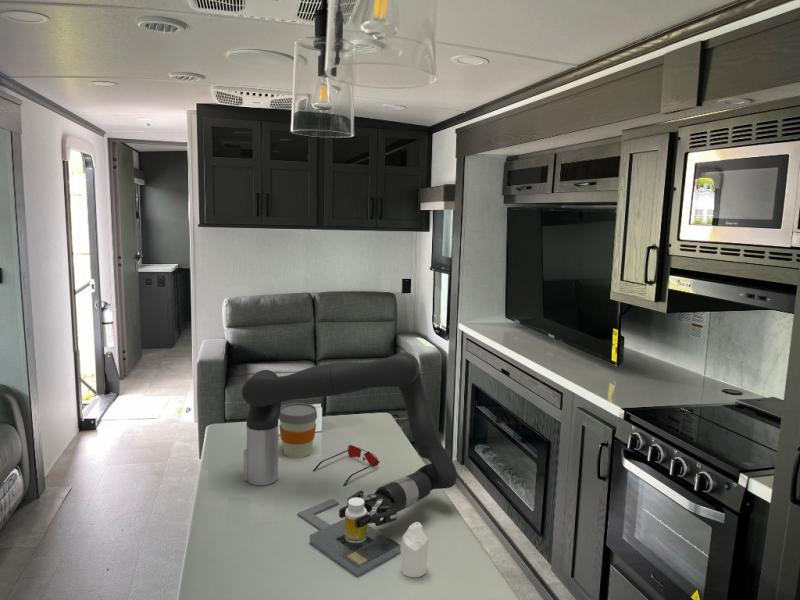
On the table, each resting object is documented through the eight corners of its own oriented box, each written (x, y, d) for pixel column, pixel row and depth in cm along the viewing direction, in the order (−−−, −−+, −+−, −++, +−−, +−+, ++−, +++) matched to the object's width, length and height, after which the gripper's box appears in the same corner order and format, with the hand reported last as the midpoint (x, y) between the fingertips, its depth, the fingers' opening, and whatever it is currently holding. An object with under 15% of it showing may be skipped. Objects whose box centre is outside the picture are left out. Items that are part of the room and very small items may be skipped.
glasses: (380, 469, 193) (381, 454, 192) (343, 487, 180) (344, 472, 179) (349, 456, 201) (349, 441, 200) (312, 472, 189) (312, 457, 188)
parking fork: (330, 537, 153) (330, 535, 153) (297, 515, 163) (297, 513, 163) (365, 520, 162) (365, 518, 162) (332, 500, 171) (332, 498, 171)
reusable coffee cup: (297, 441, 210) (298, 400, 208) (324, 451, 203) (325, 408, 201) (270, 452, 200) (270, 409, 198) (297, 463, 193) (297, 419, 191)
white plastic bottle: (403, 529, 136) (402, 516, 142) (401, 577, 139) (400, 562, 144) (429, 530, 137) (427, 517, 142) (427, 577, 139) (425, 563, 144)
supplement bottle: (363, 545, 146) (364, 508, 144) (342, 542, 147) (342, 505, 145) (369, 533, 151) (369, 497, 149) (348, 530, 152) (348, 494, 150)
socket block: (309, 542, 150) (309, 534, 150) (352, 522, 160) (352, 514, 160) (357, 576, 138) (357, 567, 138) (400, 552, 148) (400, 544, 148)
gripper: (378, 472, 162) (329, 493, 150) (417, 492, 152) (368, 516, 140) (378, 498, 163) (329, 521, 151) (416, 519, 153) (367, 546, 142)
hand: (348, 519), depth 146 cm, fingers closed on supplement bottle, 5 cm apart
